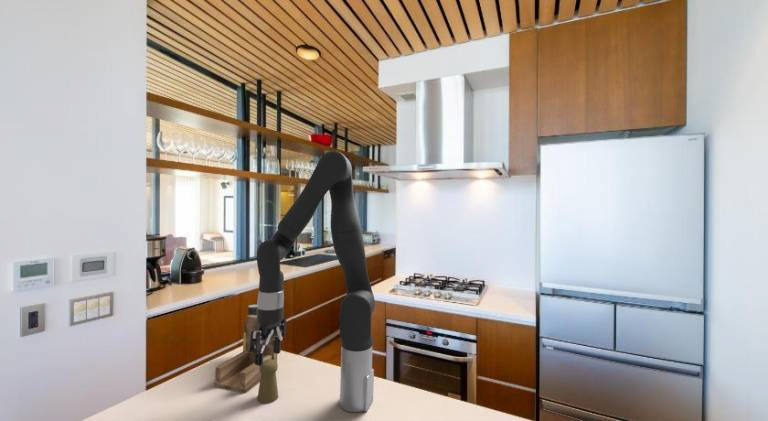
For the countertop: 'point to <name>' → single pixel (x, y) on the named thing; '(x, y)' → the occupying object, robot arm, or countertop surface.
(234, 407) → the countertop surface
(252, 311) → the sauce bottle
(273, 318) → the robot arm
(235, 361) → the wooden stand
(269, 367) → the olive rounded bulb piece
